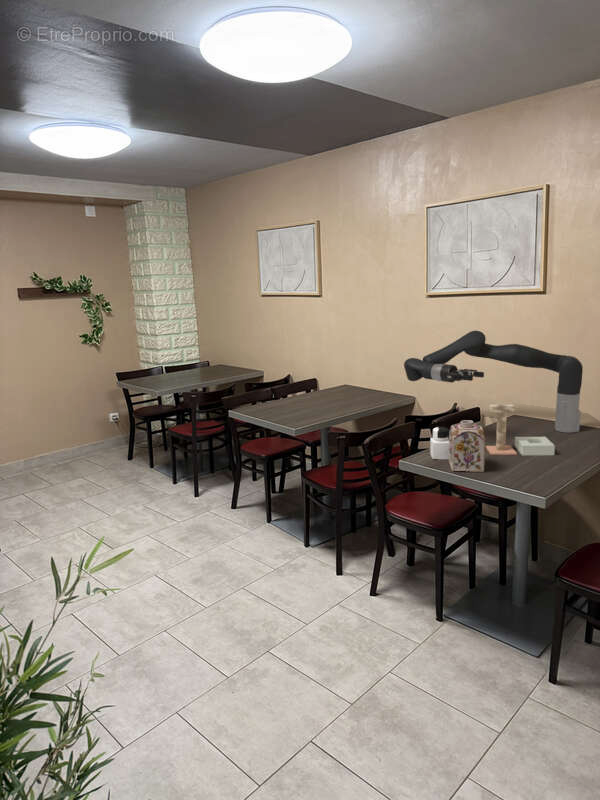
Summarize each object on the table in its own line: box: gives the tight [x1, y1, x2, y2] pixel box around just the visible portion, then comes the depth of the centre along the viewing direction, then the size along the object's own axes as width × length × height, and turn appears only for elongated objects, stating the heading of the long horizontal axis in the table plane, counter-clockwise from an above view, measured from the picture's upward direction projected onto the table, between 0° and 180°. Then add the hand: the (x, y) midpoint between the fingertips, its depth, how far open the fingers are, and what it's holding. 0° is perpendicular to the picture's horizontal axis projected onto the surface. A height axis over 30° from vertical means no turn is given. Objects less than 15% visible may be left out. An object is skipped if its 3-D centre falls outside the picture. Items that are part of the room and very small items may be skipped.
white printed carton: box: [429, 426, 449, 460], centre depth 222 cm, size 7×7×12 cm
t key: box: [489, 404, 515, 451], centre depth 225 cm, size 9×3×18 cm, turn 83°
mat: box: [485, 445, 517, 456], centre depth 227 cm, size 10×10×1 cm
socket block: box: [514, 436, 556, 456], centre depth 225 cm, size 12×12×4 cm
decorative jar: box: [448, 419, 486, 473], centre depth 208 cm, size 12×12×18 cm
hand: (478, 376), depth 228 cm, fingers open, 8 cm apart
